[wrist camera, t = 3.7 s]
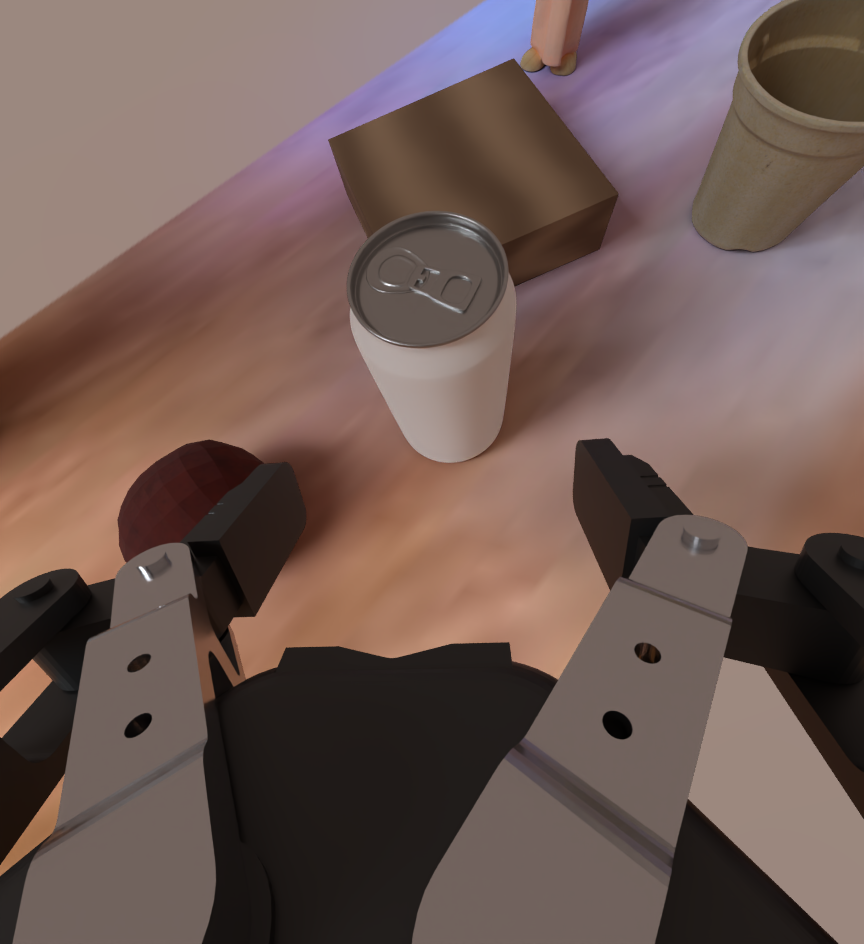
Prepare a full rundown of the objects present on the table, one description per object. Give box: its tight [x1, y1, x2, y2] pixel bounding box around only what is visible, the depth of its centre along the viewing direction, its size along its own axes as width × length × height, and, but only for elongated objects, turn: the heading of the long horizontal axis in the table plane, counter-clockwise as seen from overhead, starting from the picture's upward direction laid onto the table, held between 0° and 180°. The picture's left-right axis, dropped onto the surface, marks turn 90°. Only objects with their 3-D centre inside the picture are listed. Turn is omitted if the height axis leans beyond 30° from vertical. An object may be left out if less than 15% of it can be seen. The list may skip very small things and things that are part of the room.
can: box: [347, 211, 517, 463], centre depth 19 cm, size 6×6×12 cm
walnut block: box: [328, 59, 618, 286], centre depth 27 cm, size 14×14×4 cm
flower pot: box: [692, 0, 864, 252], centre depth 22 cm, size 9×9×9 cm
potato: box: [118, 440, 264, 562], centre depth 21 cm, size 7×8×7 cm
